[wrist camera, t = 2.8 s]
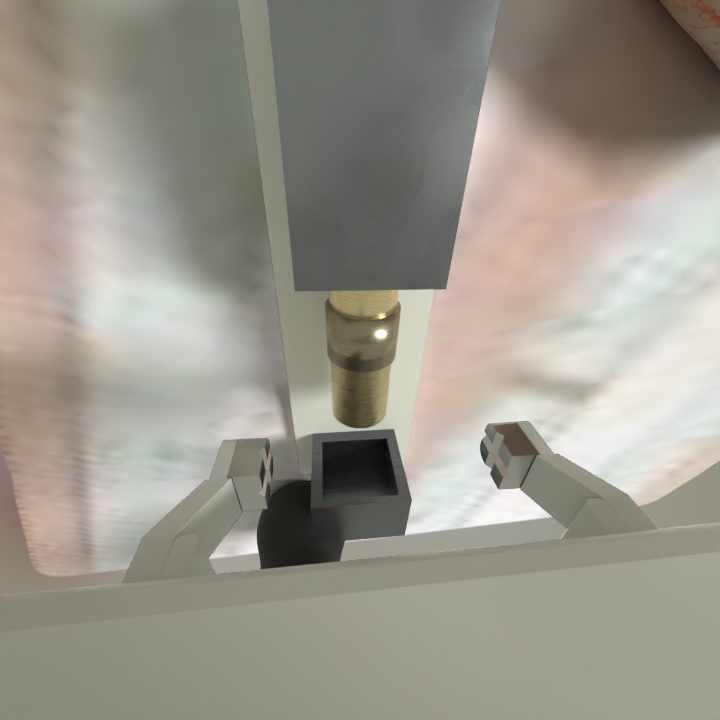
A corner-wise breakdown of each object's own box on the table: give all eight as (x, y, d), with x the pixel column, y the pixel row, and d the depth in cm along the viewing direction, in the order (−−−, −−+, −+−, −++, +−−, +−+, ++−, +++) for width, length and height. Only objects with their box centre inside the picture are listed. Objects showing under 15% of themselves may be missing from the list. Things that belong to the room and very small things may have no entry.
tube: (312, -25, 12) (309, -87, 8) (420, -17, 12) (458, -73, 9) (328, 389, 23) (329, 432, 20) (384, 387, 23) (394, 429, 20)
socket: (312, 433, 27) (310, 508, 22) (393, 428, 28) (411, 500, 22) (315, 468, 30) (314, 543, 25) (389, 463, 31) (404, 535, 25)
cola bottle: (251, 512, 34) (81, 1437, 10) (280, 465, 30) (117, 1800, 6) (323, 525, 37) (328, 1263, 13) (358, 484, 33) (460, 1433, 9)
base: (235, -46, 13) (230, -56, 12) (479, -26, 14) (487, -34, 13) (300, 467, 31) (299, 474, 30) (402, 460, 32) (404, 467, 31)
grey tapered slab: (279, -52, 12) (248, -191, 7) (444, -38, 13) (530, -155, 8) (302, 246, 18) (294, 291, 13) (411, 246, 19) (445, 289, 14)
